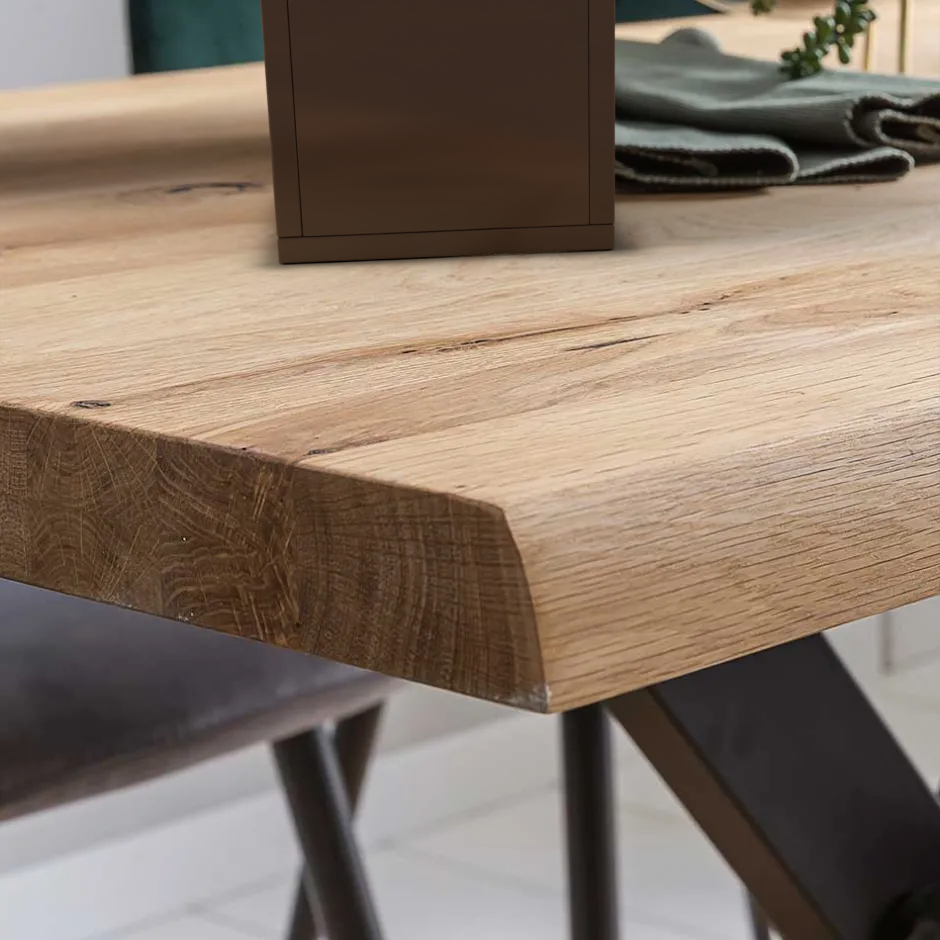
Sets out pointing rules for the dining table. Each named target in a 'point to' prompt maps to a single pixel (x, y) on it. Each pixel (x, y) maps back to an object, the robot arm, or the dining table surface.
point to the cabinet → (440, 127)
